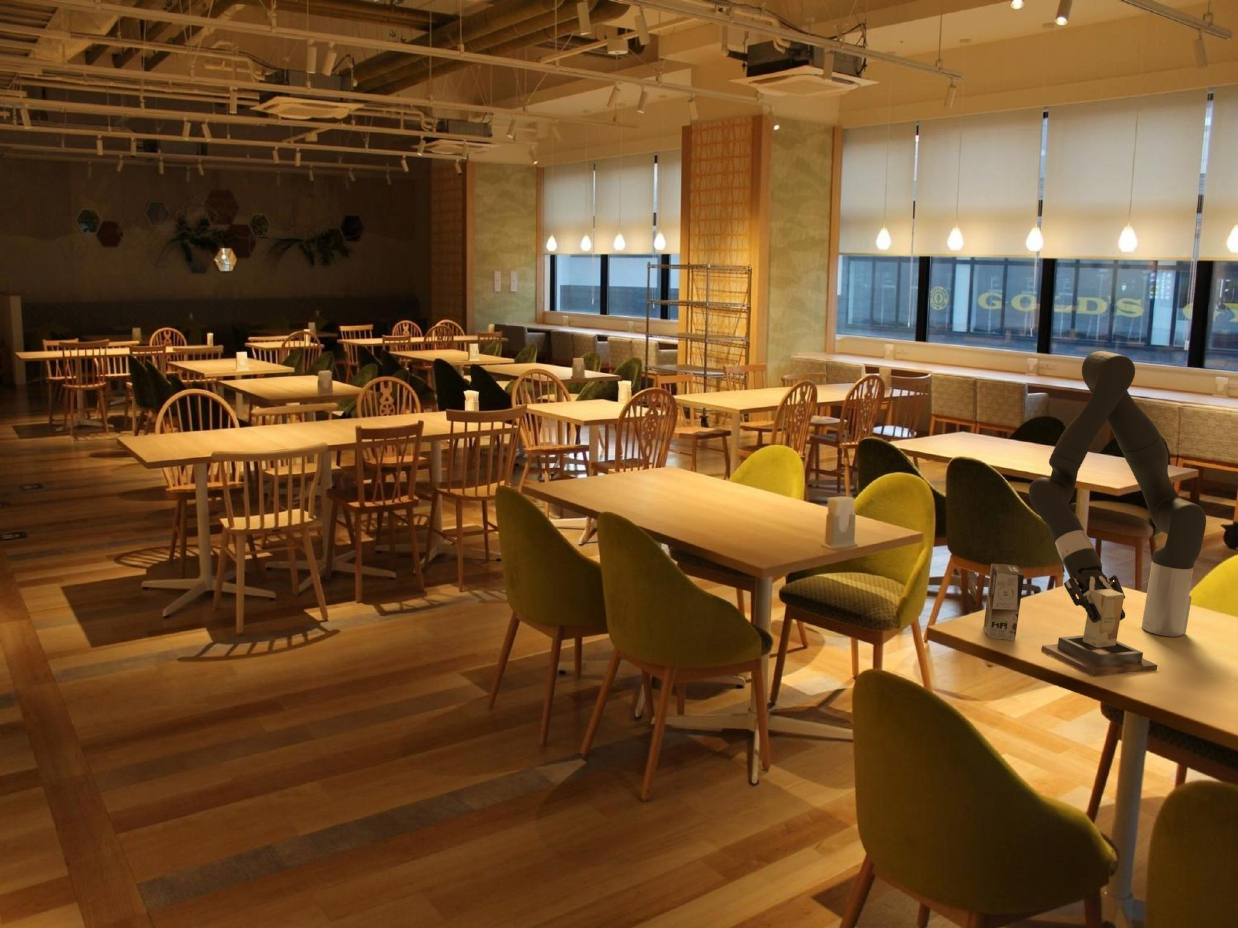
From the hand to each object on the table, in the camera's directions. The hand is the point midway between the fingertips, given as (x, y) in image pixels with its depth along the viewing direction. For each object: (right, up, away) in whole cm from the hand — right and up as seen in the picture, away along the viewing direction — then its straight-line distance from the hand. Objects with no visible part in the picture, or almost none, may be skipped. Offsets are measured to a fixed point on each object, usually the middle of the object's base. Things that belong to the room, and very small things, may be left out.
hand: (1109, 619), depth 240 cm
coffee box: (-18, -6, +18) cm, 26 cm away
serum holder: (-1, -10, +3) cm, 10 cm away
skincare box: (-1, -6, +3) cm, 7 cm away
